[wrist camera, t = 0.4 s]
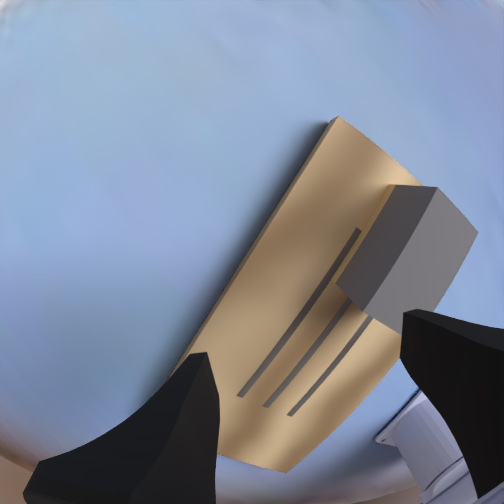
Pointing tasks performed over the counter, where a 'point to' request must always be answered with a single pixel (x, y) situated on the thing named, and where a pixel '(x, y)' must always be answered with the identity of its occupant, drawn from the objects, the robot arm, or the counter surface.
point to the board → (301, 311)
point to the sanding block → (405, 254)
